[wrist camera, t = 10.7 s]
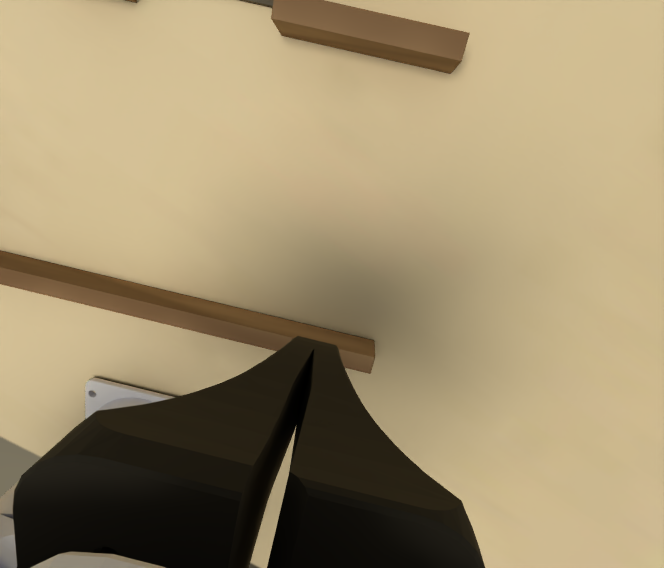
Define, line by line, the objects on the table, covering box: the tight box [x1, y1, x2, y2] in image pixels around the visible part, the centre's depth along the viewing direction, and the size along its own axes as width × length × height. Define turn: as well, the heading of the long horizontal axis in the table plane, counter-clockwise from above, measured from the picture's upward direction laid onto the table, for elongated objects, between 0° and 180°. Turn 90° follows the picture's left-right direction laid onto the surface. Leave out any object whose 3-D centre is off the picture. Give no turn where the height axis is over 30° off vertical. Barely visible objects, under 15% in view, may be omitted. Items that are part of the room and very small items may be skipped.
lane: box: [0, 0, 470, 374], centre depth 17 cm, size 21×37×2 cm, turn 78°
